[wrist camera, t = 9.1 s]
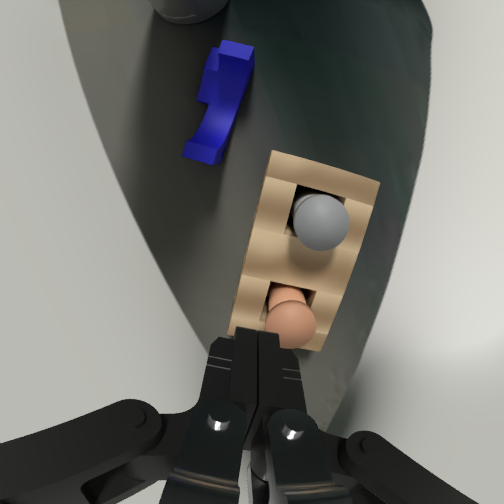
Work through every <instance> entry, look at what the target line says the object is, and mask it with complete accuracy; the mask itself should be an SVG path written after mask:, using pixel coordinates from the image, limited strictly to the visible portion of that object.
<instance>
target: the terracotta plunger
mask: <svg viewBox="0 0 504 504" xmlns="http://www.w3.org/2000/svg"><path fill="white" fill-rule="evenodd" d="M268 306H269V312H268V314H267V316H266V321H265V326H266V331H267V332H273V333H278V334H279V340H280V348H285V349H294V348H298V347H301V346H303V345H305V344H306V343H308V342H309V341H310V340H311V339H312V338H313V336H314V334H315V332H316V328H317V324H316V320H315V317H314V313H313V311H312V310H311V308H310V307H309V306H308V305H307V304H306V301H305V298H304V294H303V291H302V288H301V287H296V286H292V285H287V284H282V283H278V282H272V283H271V284H270V286H269V288H268Z"/></svg>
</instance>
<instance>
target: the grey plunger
mask: <svg viewBox="0 0 504 504" xmlns="http://www.w3.org/2000/svg"><path fill="white" fill-rule="evenodd" d="M290 212H291V215H292V217H293V225H294V230H295V232H296V234H297V236H298V238H299V240H300V241H301V242H302V243H303V244H304V245H305V246H306V247H308V248H310V249H312V250H315V251H327V250H330V249H333V248H335V247H336V246H338V245H339V244H340V243H341V242H342V241H343V240H344V239H345V237H346V235H347V233H348V230H349V215H348V212H347V210H346V209H345V207H344V206H343V204H341V203H340V202H339V201H338V200H336V199H335V198H333V197H331V196H328V195H324V194H319V193H317V192H315V191H312V190H304V191H301V192H299V193H298V194H296V195H295V196H294V198H293V201H292V205H291V209H290Z"/></svg>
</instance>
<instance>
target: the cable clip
mask: <svg viewBox="0 0 504 504" xmlns="http://www.w3.org/2000/svg"><path fill="white" fill-rule="evenodd" d="M254 65H255V60H254V47H252V46H248V45H244V44H240V43H235V42H231V41H226V40H223V41H222V43H221V45H220V48H215V47H212V49H211V51H210V54H209V56H208V59H207V61H206V64H205V67H204V71H203V77H202V81H201V86H200V89H199V93H198V96H197V99H196V100H197V101H198V102H201V103H205V104H209V106H208V108H207V111H206V114H205V116H204V118H203V121H202V123H201V125H200V127H199V128H198V130H197V132H196V133H195V135H194V136H193V137H192V138H191V139H190V140H189V141H186V144H185V147H184V151H183V154H182V157H186V158H189V159H193V160H196V161H200V162H203V163H207V164H210V165H215V164H220V163H221V160H222V157H223V154H224V151H225V148H226V145H227V142H228V139H229V136H230V133H231V130H232V127H233V124H234V121H235V118H236V115H237V112H238V109H239V106H240V104H241V101H242V98H243V95H244V92H245V90H246V87H247V84H248V81H249V79H250V76H251V73H252V70H253V68H254Z"/></svg>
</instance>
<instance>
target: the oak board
mask: <svg viewBox="0 0 504 504" xmlns="http://www.w3.org/2000/svg"><path fill="white" fill-rule="evenodd" d="M297 184H299V185H302V186H306V187H310V188H313V189H317V190H321V191H324V192H328V193H331V194H333V196H332V197H333V198H335V199H336V200H338V201H339V202H340V203H341V204H343V206H344V207H345V209H346V210H347V212H348V215H349V230H348V233H347V235H346V237H345V239H344V240H343V241H342V242H341V243H340V244H339V245H338V246H336V247H335V248H333V249H330V250H327V251H315V250H312V249H310V248H308V247H306V246H305V245H304V244H303V243H302V242H301V241H300V240H299V238H298V236H297V234H296V232H295V230H294V226H291V225H287V220H288V216H289V213H290V209H291V205H292V201H293V198H294V194H295V190H296V186H297ZM379 184H380V182H378V181H375V180H372V179H369V178H366V177H363V176H360V175H357V174H354V173H351V172H348V171H344V170H341V169H338V168H335V167H331V166H328V165H325V164H321V163H318V162H314V161H311V160H307V159H304V158H300V157H296V156H293V155H289V154H285V153H281V152H277V151H273V150H271V151H270V153H269V157H268V161H267V165H266V169H265V173H264V177H263V181H262V185H261V189H260V194H259V198H258V202H257V206H256V210H255V214H254V218H253V222H252V226H251V230H250V235H249V239H248V243H247V247H246V251H245V255H244V259H243V264H242V268H241V272H240V276H239V280H238V284H237V289H236V293H235V297H234V301H233V305H232V310H231V314H230V321H229V327H228V333H227V335H232V336H234V333H235V328H236V326H239V327H245V328H250V329H255V330H257V331H258V330H261V331H266V326H265V321H266V316H267V314H268V312H269V306H268V302H265V299H266V295H267V292H268V288H269V285H270V281H273V282H278V283H282V284H287V285H292V286H296V287H301V288H304V291H303V294H304V298H305V301H306V304H307V305H308V306H309V307H310V308H311V310H312V311H313V313H314V317H315V320H316V324H317V328H316V332H315V334H314V336H313V338H312V339H311V340H310V341H309V342H308V343H306V344H305V345H303V346H301V347H298V348H301V349H307V350H314V351H320V350H321V348H322V346H323V343H324V341H325V339H326V336H327V334H328V332H329V329H330V327H331V325H332V322H333V320H334V317H335V315H336V312H337V310H338V307H339V305H340V302H341V299H342V297H343V294H344V292H345V289H346V286H347V284H348V281H349V278H350V275H351V273H352V270H353V267H354V264H355V261H356V259H357V256H358V253H359V250H360V247H361V244H362V241H363V238H364V235H365V232H366V228H367V225H368V222H369V219H370V216H371V212H372V209H373V206H374V202H375V199H376V195H377V192H378V188H379Z"/></svg>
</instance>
